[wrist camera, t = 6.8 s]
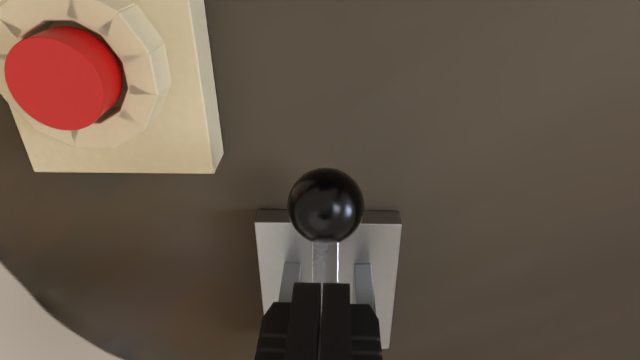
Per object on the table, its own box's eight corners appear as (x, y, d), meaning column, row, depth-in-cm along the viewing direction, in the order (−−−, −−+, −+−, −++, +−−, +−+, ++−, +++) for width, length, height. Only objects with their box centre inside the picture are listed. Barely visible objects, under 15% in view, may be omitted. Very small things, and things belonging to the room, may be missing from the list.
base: (257, 208, 26) (205, 402, 15) (399, 210, 25) (440, 409, 15) (269, 330, 31) (235, 536, 21) (387, 333, 30) (412, 543, 20)
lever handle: (291, 166, 20) (283, 168, 17) (362, 167, 20) (367, 169, 17) (290, 443, 21) (282, 495, 18) (358, 445, 21) (362, 498, 18)
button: (18, 25, 17) (-13, 36, 16) (110, 25, 17) (89, 36, 16) (47, 113, 19) (23, 131, 18) (132, 114, 19) (114, 131, 18)
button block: (-24, -86, 19) (-106, -86, 15) (192, -88, 18) (159, -89, 15) (57, 152, 24) (11, 191, 21) (224, 153, 24) (205, 194, 20)
